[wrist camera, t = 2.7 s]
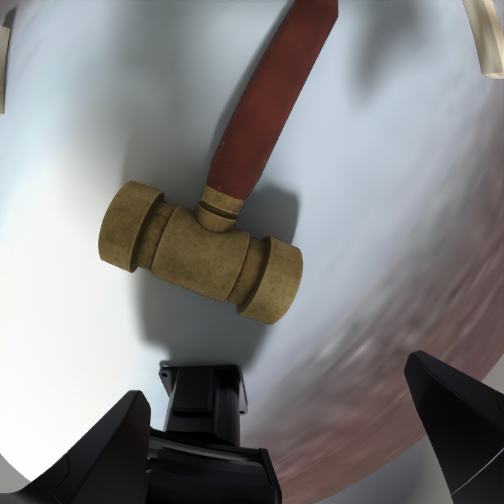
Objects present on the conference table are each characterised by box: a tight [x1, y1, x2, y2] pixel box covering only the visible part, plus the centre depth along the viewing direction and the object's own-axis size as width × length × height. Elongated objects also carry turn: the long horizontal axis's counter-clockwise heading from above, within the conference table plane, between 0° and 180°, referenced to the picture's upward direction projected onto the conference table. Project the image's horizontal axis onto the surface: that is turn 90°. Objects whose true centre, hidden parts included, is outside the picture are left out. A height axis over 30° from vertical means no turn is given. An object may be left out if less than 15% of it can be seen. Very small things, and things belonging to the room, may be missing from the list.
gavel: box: [98, 0, 338, 325], centre depth 13 cm, size 21×5×10 cm
